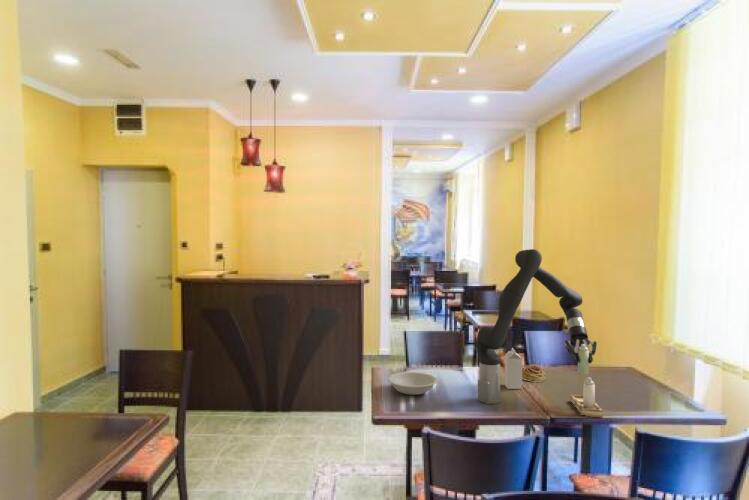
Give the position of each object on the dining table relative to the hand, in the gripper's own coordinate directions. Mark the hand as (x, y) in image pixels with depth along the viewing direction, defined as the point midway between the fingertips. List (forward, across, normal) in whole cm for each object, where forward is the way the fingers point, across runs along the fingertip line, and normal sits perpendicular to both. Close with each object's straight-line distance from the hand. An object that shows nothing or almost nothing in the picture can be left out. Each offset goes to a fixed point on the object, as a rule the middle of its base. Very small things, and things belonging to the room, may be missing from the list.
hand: (584, 362), depth 197 cm
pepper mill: (+2, 0, +5) cm, 6 cm away
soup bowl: (+10, -76, +18) cm, 79 cm away
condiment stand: (+16, 0, +12) cm, 20 cm away
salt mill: (+17, 0, +8) cm, 19 cm away
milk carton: (-2, -27, +30) cm, 41 cm away
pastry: (-14, -14, +43) cm, 48 cm away
